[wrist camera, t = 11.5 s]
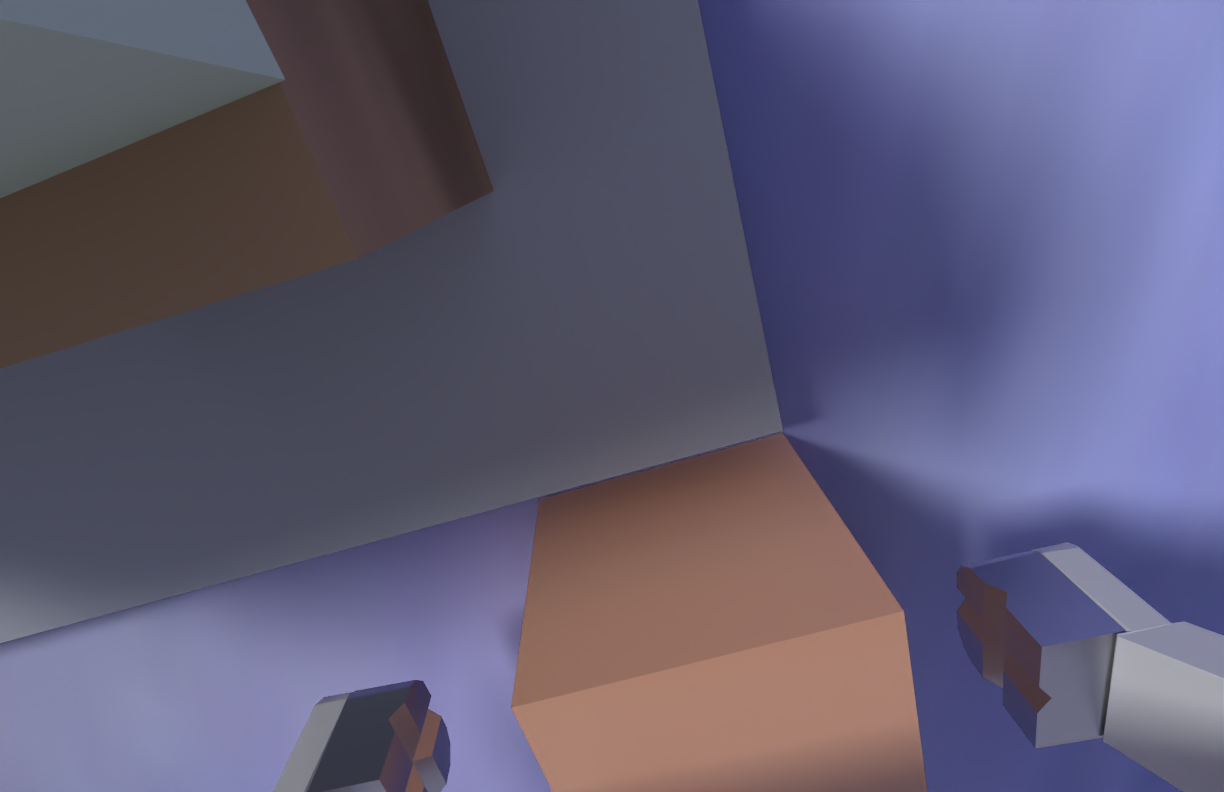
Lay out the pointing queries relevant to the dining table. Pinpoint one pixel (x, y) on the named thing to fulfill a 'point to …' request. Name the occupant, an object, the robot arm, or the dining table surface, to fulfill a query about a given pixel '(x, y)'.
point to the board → (418, 342)
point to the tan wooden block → (248, 182)
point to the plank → (116, 75)
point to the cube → (713, 637)
